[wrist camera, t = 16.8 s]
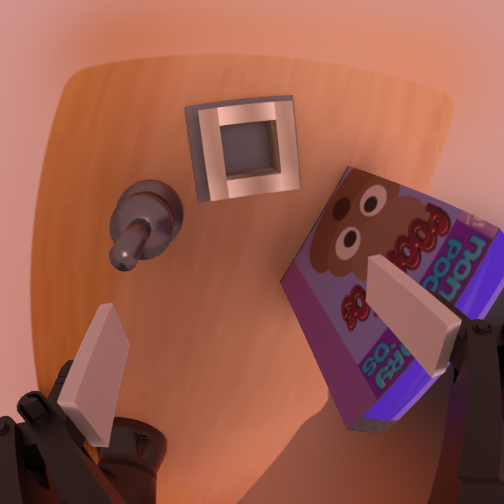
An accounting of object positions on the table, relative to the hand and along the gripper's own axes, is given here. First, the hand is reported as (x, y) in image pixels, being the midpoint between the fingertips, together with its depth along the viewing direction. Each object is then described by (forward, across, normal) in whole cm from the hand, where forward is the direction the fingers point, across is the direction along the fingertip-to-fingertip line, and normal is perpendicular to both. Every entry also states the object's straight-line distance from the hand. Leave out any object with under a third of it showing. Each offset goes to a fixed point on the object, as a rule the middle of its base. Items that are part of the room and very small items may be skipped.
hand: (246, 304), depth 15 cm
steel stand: (+23, -8, 0) cm, 24 cm away
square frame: (+22, +4, +6) cm, 23 cm away
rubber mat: (+22, +4, +6) cm, 24 cm away
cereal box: (+23, +13, -6) cm, 27 cm away
